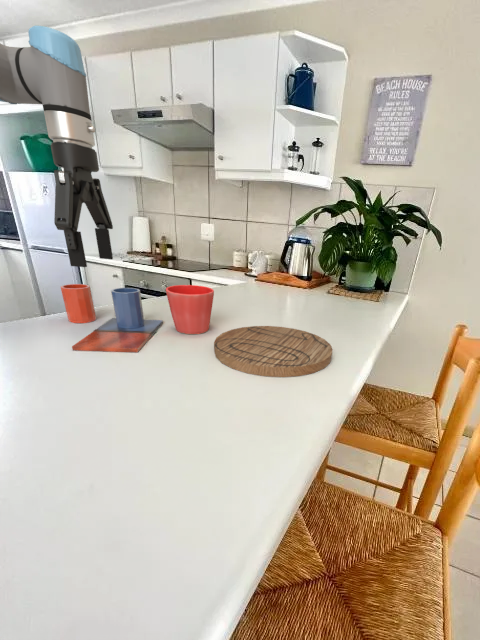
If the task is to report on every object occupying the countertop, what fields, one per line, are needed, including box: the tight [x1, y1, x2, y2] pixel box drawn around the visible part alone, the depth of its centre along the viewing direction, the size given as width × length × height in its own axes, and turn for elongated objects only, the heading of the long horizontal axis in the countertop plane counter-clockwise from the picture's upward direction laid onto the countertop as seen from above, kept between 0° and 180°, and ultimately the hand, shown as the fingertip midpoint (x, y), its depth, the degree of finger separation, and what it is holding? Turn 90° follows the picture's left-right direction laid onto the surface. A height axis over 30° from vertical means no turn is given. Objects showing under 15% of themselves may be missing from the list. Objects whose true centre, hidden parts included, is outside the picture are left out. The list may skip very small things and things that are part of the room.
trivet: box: [213, 325, 334, 378], centre depth 69 cm, size 25×25×2 cm
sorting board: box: [71, 317, 164, 353], centre depth 71 cm, size 12×20×1 cm, turn 5°
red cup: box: [60, 283, 97, 324], centre depth 77 cm, size 6×6×8 cm
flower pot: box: [165, 284, 215, 335], centre depth 76 cm, size 11×11×10 cm
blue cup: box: [110, 287, 145, 329], centre depth 74 cm, size 6×6×8 cm
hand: (93, 262), depth 71 cm, fingers open, 13 cm apart
